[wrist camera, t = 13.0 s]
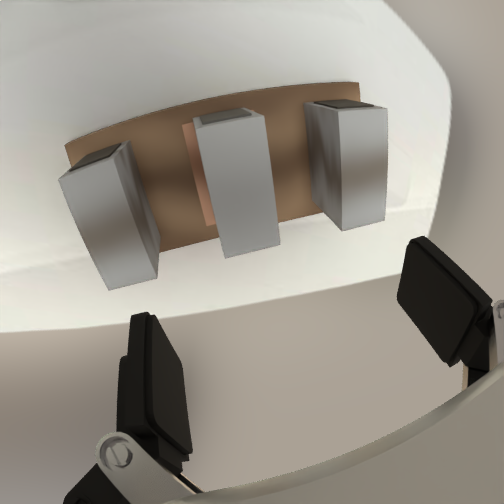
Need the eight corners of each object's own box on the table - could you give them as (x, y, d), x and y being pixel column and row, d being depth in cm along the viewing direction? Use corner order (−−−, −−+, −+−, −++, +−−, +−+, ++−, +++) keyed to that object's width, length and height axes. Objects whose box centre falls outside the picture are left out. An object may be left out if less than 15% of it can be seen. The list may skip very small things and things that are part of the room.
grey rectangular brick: (192, 116, 20) (194, 126, 15) (243, 105, 21) (263, 113, 16) (215, 220, 25) (224, 258, 21) (260, 209, 26) (280, 244, 21)
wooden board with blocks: (70, 141, 20) (32, 166, 14) (350, 81, 23) (402, 88, 16) (114, 256, 27) (100, 308, 21) (355, 197, 29) (396, 232, 23)
